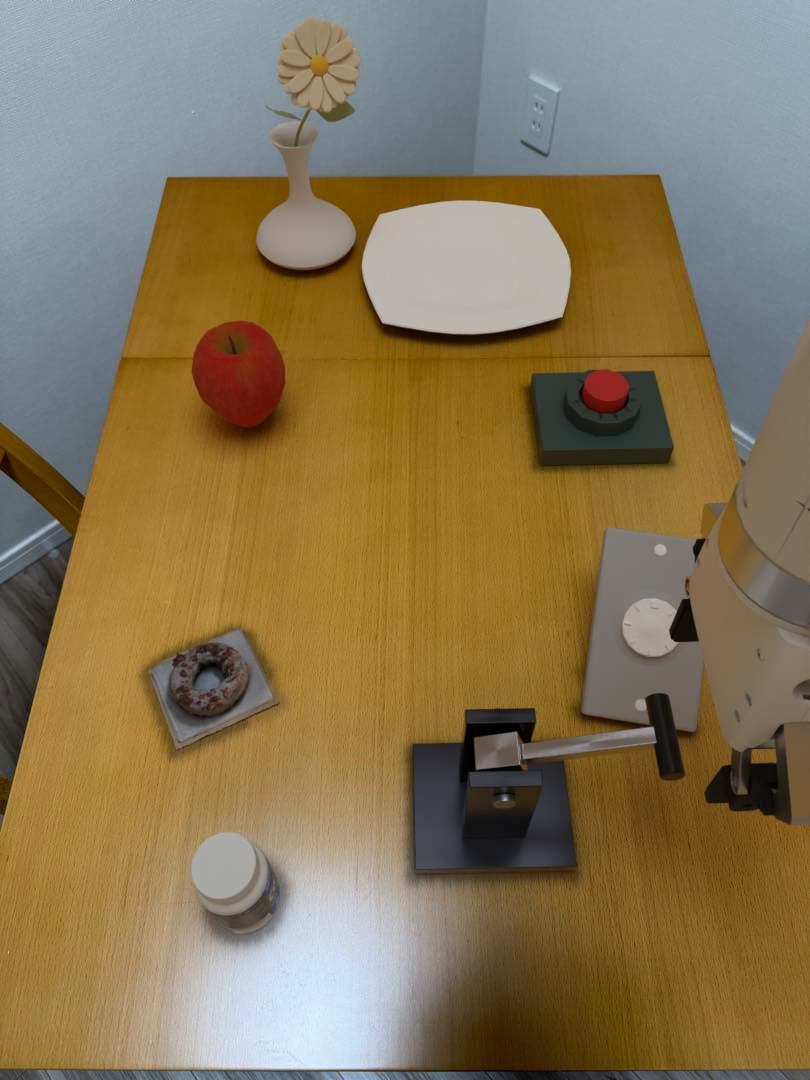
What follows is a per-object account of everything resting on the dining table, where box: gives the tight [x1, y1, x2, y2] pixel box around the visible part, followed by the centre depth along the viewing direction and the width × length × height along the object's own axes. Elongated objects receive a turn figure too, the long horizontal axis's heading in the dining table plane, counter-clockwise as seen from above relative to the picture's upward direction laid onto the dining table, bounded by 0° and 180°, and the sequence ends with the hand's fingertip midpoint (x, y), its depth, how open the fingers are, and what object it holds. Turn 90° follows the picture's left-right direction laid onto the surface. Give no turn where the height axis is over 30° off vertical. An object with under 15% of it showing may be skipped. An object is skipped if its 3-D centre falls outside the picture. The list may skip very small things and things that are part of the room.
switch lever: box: [474, 693, 686, 782], centre depth 52 cm, size 12×5×2 cm, turn 91°
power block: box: [529, 369, 675, 466], centre depth 81 cm, size 12×10×4 cm
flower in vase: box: [255, 16, 361, 271], centre depth 89 cm, size 13×11×25 cm
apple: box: [190, 320, 286, 429], centre depth 80 cm, size 9×8×11 cm
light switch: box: [580, 526, 705, 733], centre depth 67 cm, size 8×6×14 cm
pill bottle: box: [190, 831, 281, 935], centre depth 55 cm, size 5×5×8 cm
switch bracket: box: [412, 707, 578, 875], centre depth 57 cm, size 11×9×12 cm
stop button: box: [582, 369, 629, 414], centre depth 79 cm, size 4×4×2 cm
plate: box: [361, 200, 572, 336], centre depth 95 cm, size 23×23×2 cm
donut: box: [147, 627, 280, 750], centre depth 67 cm, size 8×8×2 cm
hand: (713, 712), depth 48 cm, fingers open, 9 cm apart
